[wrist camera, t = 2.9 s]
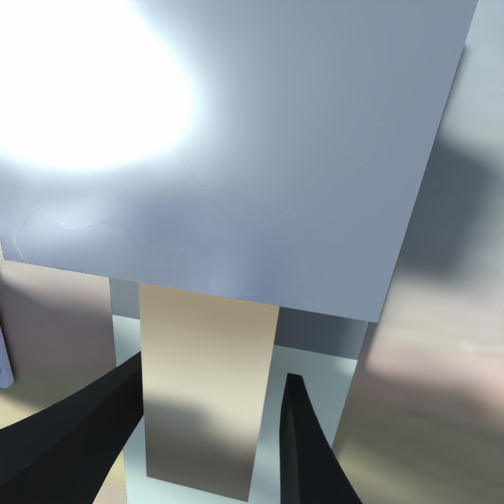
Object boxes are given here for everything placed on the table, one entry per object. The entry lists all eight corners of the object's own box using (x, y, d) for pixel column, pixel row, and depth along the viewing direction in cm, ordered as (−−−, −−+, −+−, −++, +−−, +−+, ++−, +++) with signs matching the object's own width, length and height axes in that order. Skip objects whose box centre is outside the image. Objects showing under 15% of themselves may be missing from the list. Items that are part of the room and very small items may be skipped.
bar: (260, 407, 13) (247, 502, 9) (186, 391, 14) (146, 476, 10) (319, 32, 8) (343, -89, 4) (197, 25, 8) (123, -91, 5)
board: (296, 544, 18) (296, 564, 17) (136, 501, 19) (129, 518, 18) (489, -138, 7) (520, -184, 6) (96, -133, 8) (71, -172, 7)
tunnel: (328, 236, 10) (377, 322, 4) (155, 212, 11) (4, 259, 5) (359, 90, 8) (501, -75, 3) (153, 74, 9) (-72, -81, 3)
